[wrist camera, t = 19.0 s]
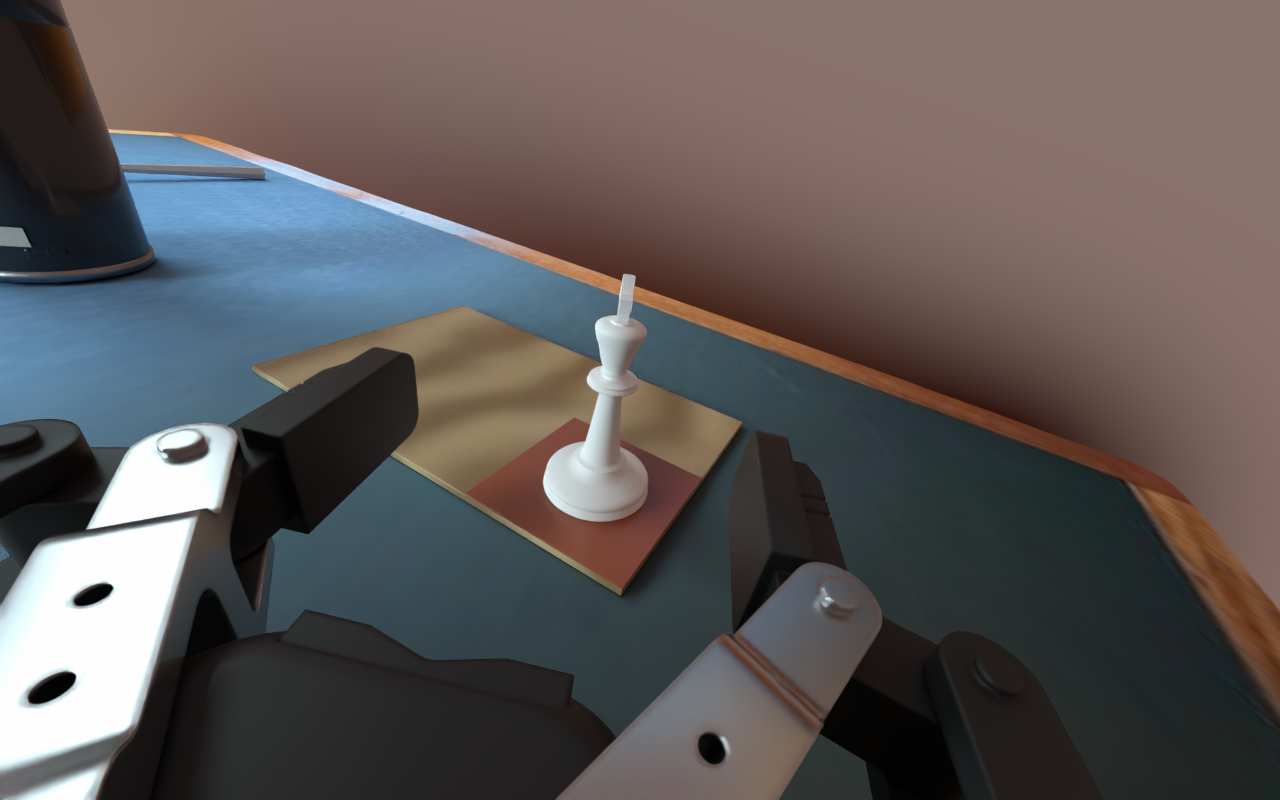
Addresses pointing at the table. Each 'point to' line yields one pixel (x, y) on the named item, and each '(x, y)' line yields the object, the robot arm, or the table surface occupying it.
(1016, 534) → the table surface
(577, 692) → the table surface
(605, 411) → the chess piece
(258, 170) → the wind turbine model
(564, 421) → the corner board
